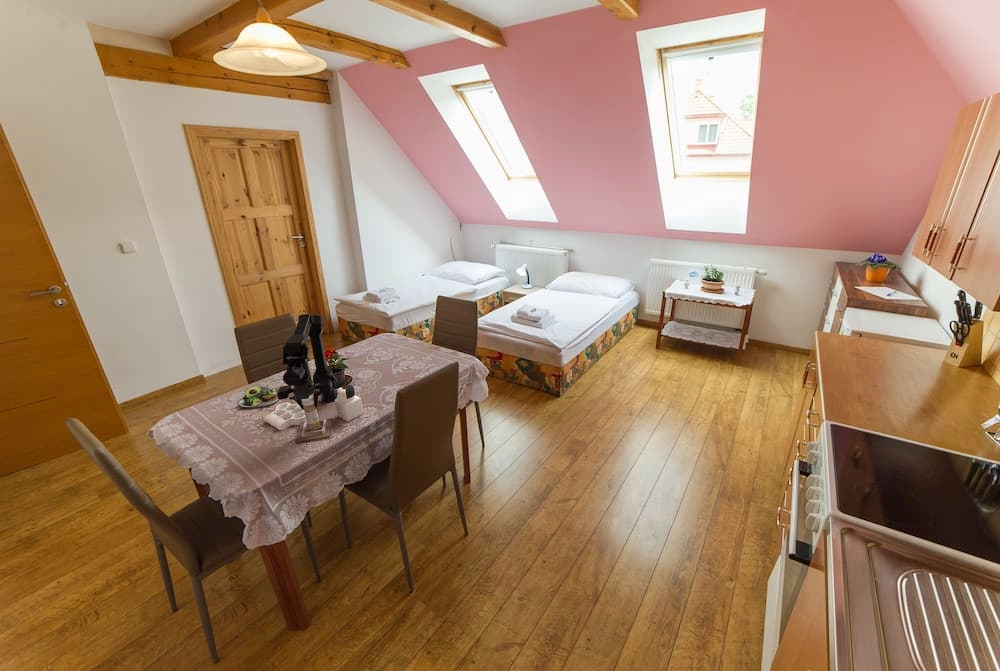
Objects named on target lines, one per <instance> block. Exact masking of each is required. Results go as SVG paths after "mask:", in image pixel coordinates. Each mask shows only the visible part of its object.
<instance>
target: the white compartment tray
mask: <svg viewBox="0 0 1000 671" xmlns="http://www.w3.org/2000/svg"><path fill="white" fill-rule="evenodd" d="M263 420H264V422H267V423H268V424H270V425H271V427H272V426H273V427H274V428H275V429H277V430H279V431H283V430H285V429H287V428H289V427H290V426H300V425H301V423H304V422H307V421H306V417H305V412H304V410H302V408H301V407H300V406H299V405H298V403H290V402H283V403H279V404H278V405H276V407H275V410H274V411H272V412H270V413H268V414H267V415H265V416H264V418H263Z"/></svg>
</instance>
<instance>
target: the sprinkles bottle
mask: <svg viewBox="0 0 1000 671" xmlns="http://www.w3.org/2000/svg"><path fill="white" fill-rule="evenodd" d="M302 405H303V407H304V412H305V417H306V421H307V425H308V430H310V431H314V430H317V429H319V428H320V424H319V420H320V418H319V415H318V410H317V408H315V402H314V396H312V395H310V397H309V398H308V399H302Z"/></svg>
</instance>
